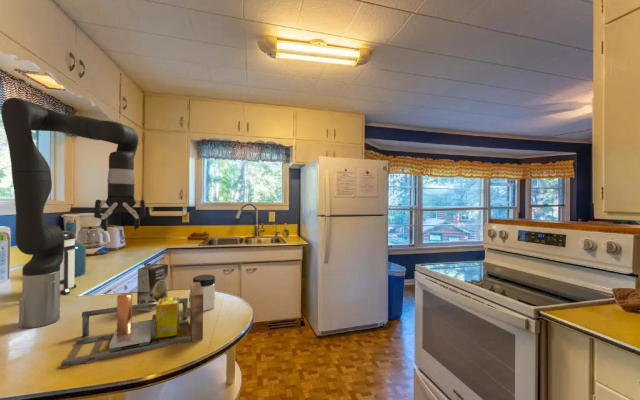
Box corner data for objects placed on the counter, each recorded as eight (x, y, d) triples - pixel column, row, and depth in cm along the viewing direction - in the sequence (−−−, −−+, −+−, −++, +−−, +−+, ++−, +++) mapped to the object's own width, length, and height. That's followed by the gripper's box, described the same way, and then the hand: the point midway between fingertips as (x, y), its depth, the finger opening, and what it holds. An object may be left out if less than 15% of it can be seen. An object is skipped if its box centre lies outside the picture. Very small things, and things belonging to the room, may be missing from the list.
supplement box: (158, 332, 91) (158, 298, 91) (179, 329, 93) (179, 296, 93) (155, 341, 86) (155, 305, 86) (177, 337, 88) (177, 302, 88)
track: (59, 369, 71) (59, 364, 71) (78, 341, 85) (78, 337, 85) (190, 342, 85) (190, 338, 85) (188, 322, 98) (188, 319, 98)
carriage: (109, 352, 77) (109, 304, 77) (118, 331, 88) (118, 289, 88) (154, 343, 82) (155, 298, 81) (157, 324, 93) (157, 285, 93)
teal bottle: (89, 274, 155) (90, 220, 155) (58, 280, 144) (58, 221, 143) (80, 270, 162) (80, 218, 162) (49, 276, 151) (49, 220, 151)
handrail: (81, 337, 87) (81, 312, 87) (83, 335, 89) (83, 311, 88) (187, 319, 101) (187, 298, 101) (187, 318, 102) (187, 297, 102)
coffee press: (22, 296, 121) (22, 226, 121) (66, 285, 136) (67, 223, 136) (44, 302, 115) (45, 228, 114) (89, 290, 130) (89, 225, 129)
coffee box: (150, 312, 107) (151, 269, 107) (136, 310, 108) (136, 268, 108) (168, 303, 116) (168, 264, 116) (154, 301, 117) (155, 263, 117)
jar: (214, 310, 109) (215, 279, 109) (191, 313, 107) (192, 281, 106) (214, 302, 118) (215, 273, 118) (193, 304, 115) (193, 275, 115)
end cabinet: (189, 342, 85) (190, 296, 85) (187, 323, 98) (188, 283, 98) (202, 339, 87) (203, 294, 87) (199, 321, 99) (199, 281, 99)
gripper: (146, 184, 103) (146, 228, 103) (98, 182, 97) (97, 229, 97) (144, 183, 97) (144, 230, 97) (92, 181, 90) (91, 232, 90)
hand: (120, 230), depth 97 cm, fingers open, 8 cm apart
